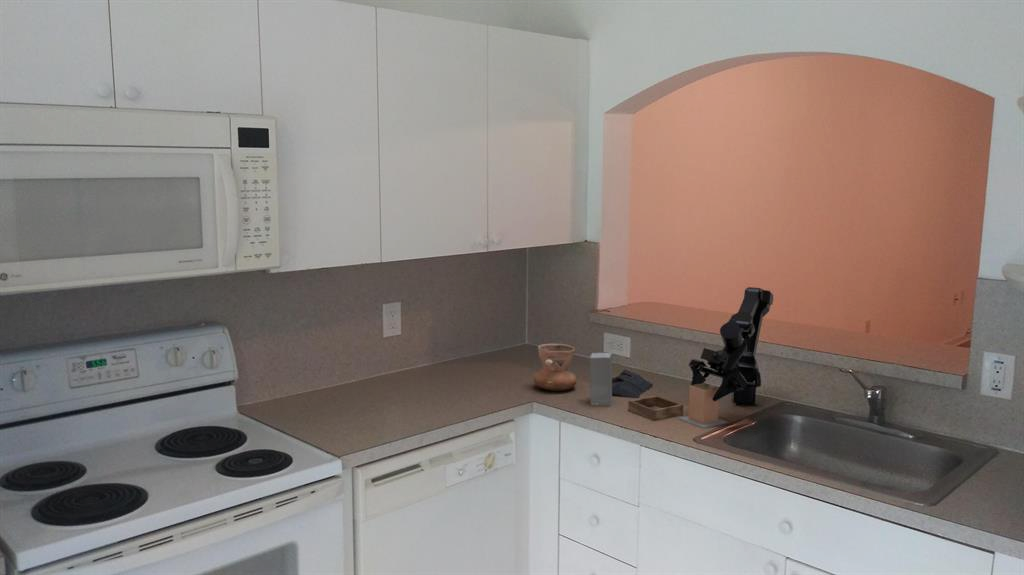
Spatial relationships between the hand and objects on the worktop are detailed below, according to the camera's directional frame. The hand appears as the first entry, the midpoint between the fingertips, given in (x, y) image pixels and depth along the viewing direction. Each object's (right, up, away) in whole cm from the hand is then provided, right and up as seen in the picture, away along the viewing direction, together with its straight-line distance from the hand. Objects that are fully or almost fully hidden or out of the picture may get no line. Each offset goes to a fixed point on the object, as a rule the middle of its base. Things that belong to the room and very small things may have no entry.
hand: (701, 396), depth 234 cm
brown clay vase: (-41, -2, +37) cm, 55 cm away
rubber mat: (+1, -8, +2) cm, 8 cm away
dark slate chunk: (-17, -3, +36) cm, 40 cm away
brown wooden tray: (-12, -7, +9) cm, 16 cm away
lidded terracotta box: (+1, -7, +2) cm, 7 cm away
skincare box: (-27, -5, +20) cm, 34 cm away
